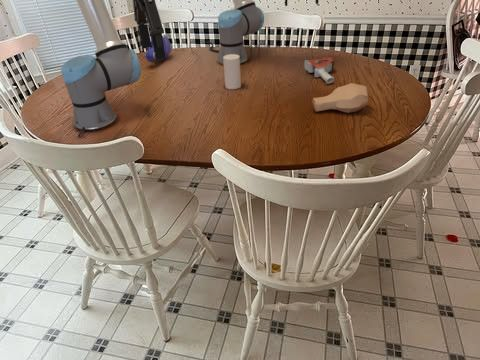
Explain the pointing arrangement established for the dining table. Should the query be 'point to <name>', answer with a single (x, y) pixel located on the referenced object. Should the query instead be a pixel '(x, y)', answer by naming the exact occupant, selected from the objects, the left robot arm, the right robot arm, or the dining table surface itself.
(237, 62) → the can
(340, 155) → the dining table surface
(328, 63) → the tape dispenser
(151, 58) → the toy
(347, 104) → the squash
